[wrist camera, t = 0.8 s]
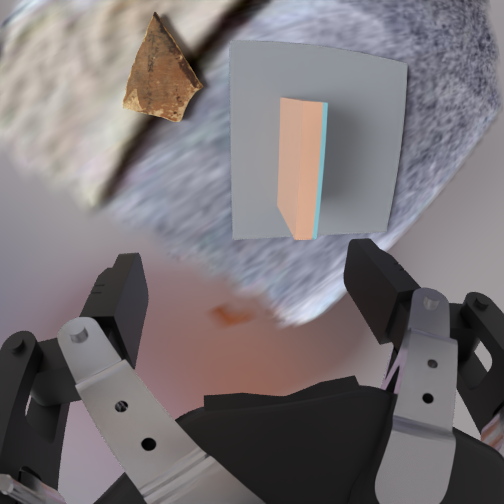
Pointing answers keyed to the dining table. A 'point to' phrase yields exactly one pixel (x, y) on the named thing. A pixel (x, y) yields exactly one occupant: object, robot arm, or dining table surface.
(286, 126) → the tile
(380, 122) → the board
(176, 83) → the shard
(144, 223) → the dining table surface
